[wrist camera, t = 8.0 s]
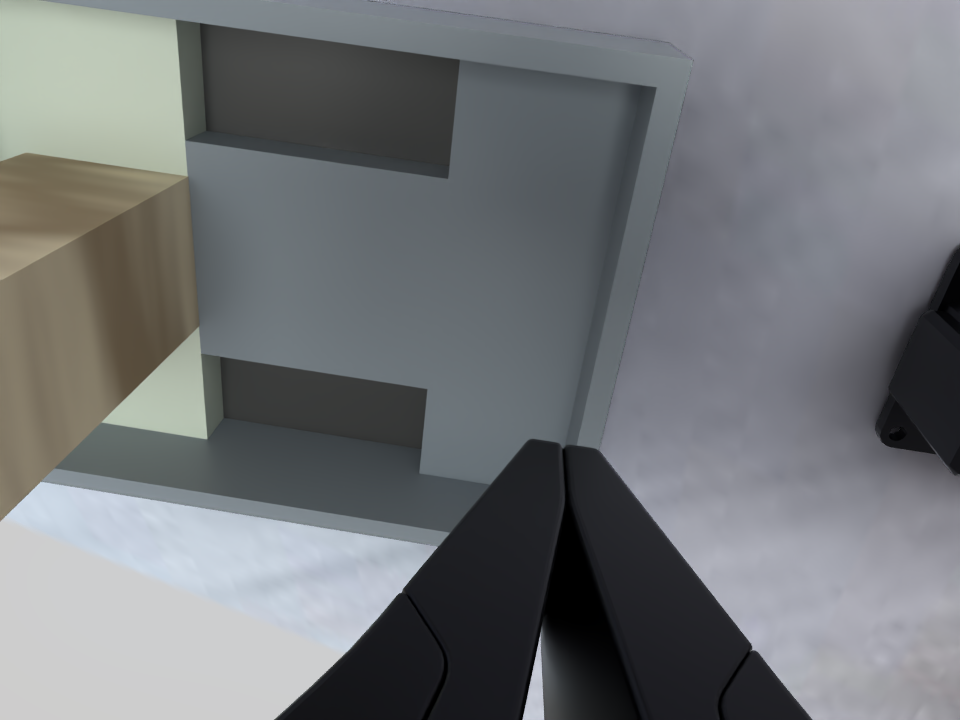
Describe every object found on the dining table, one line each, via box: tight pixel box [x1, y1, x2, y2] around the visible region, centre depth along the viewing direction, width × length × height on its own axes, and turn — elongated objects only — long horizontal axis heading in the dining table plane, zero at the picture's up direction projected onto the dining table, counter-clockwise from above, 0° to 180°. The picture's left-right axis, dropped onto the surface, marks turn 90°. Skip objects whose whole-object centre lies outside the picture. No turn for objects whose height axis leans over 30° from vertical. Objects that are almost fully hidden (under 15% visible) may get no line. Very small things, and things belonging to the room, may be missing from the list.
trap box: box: [0, 0, 694, 547], centre depth 20 cm, size 18×14×4 cm
